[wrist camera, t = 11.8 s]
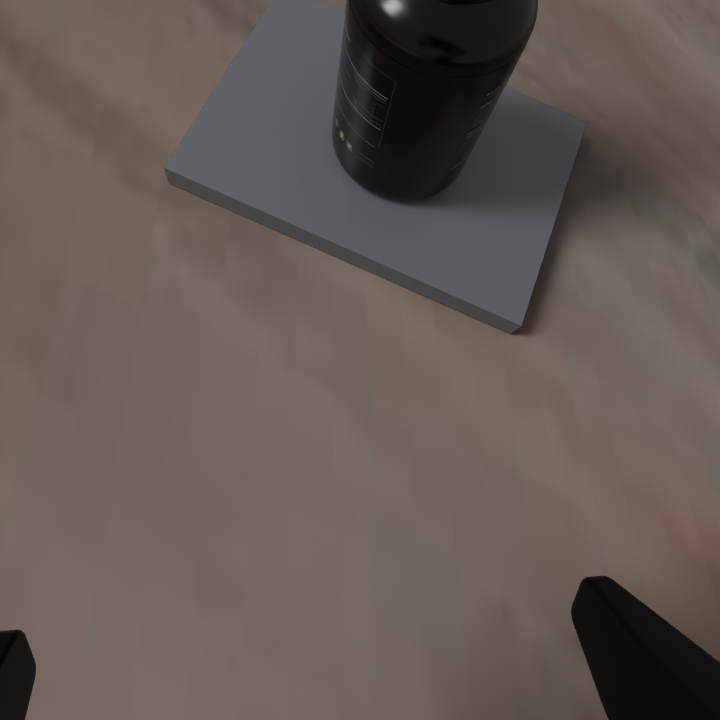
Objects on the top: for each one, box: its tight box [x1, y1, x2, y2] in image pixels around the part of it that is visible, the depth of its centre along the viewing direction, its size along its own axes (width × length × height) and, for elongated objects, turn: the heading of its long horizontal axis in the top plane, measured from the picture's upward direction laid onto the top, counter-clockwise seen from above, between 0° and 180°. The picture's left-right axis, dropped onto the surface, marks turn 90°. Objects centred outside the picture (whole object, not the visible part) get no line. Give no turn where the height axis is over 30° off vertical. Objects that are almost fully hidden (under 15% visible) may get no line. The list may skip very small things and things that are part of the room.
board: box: [164, 0, 587, 334], centre depth 27 cm, size 18×13×1 cm
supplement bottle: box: [332, 0, 538, 201], centre depth 21 cm, size 7×7×12 cm
